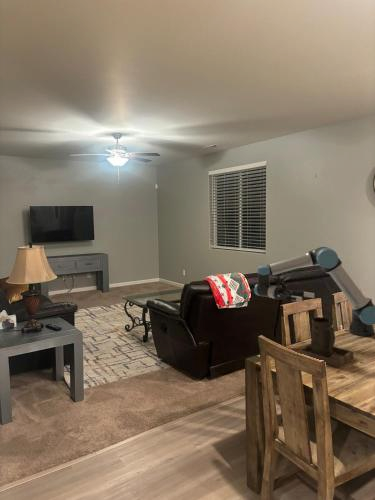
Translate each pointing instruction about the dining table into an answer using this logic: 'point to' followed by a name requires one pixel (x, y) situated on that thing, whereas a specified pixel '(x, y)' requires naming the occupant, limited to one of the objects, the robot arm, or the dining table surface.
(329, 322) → the beer stein
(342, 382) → the dining table surface
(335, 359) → the walnut tray
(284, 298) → the robot arm
